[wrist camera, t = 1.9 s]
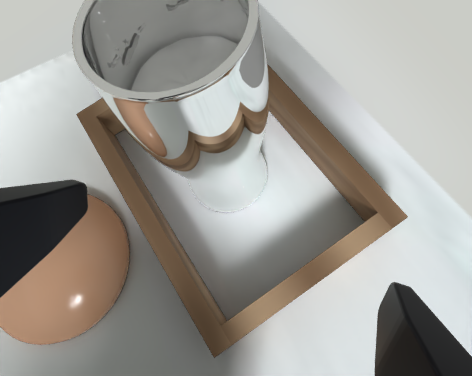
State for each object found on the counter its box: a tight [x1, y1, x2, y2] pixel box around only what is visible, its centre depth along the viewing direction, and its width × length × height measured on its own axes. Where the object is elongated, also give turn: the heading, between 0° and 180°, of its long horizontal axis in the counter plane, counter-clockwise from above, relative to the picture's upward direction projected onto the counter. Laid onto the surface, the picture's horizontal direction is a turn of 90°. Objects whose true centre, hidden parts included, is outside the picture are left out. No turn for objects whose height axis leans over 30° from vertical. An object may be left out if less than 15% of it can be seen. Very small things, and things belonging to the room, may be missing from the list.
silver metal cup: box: [72, 0, 269, 213], centre depth 18 cm, size 7×7×15 cm
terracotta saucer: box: [0, 194, 130, 345], centre depth 24 cm, size 11×11×1 cm
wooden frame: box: [76, 64, 408, 358], centre depth 24 cm, size 14×20×3 cm
